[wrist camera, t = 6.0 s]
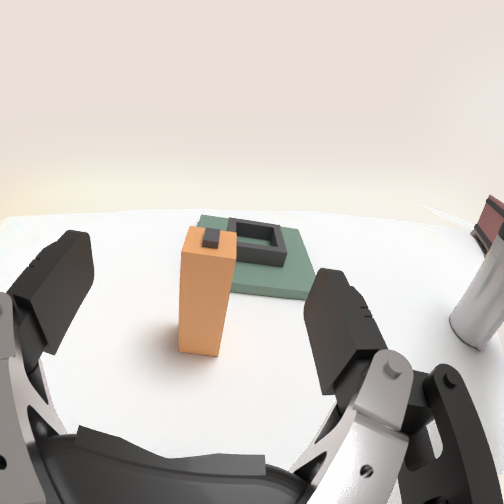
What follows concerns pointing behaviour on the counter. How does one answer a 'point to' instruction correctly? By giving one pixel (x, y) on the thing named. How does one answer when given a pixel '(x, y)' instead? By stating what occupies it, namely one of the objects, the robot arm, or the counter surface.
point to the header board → (267, 258)
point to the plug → (205, 288)
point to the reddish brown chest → (489, 222)
